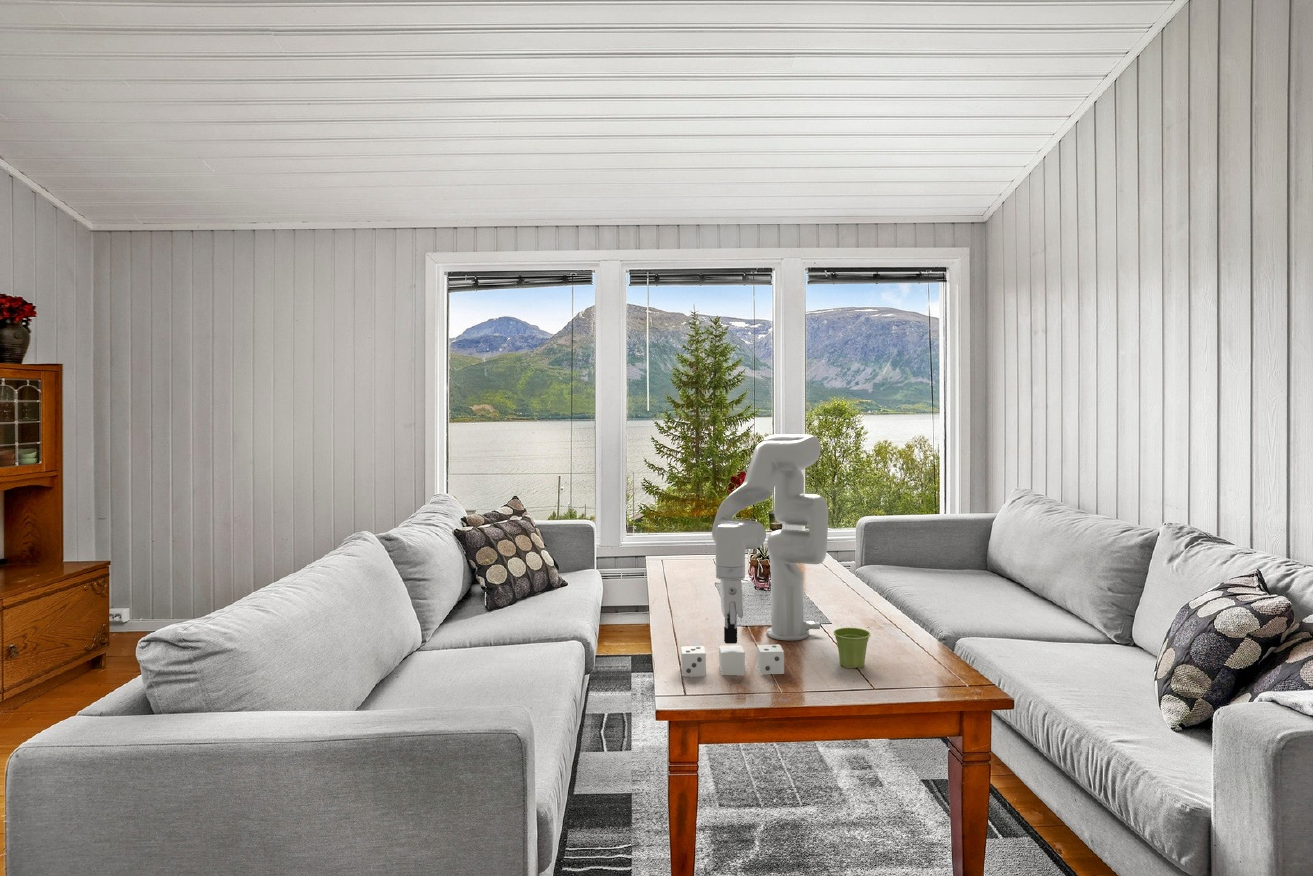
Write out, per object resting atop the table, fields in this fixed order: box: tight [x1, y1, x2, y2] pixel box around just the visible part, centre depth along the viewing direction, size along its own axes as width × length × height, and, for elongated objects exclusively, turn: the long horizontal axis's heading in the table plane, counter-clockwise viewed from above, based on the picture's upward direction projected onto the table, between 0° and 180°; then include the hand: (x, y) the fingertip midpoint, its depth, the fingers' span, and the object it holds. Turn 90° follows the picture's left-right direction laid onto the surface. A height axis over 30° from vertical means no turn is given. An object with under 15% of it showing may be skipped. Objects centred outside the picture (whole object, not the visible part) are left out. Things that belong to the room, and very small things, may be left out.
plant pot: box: [833, 627, 871, 669], centre depth 205 cm, size 9×9×9 cm
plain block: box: [718, 644, 746, 676], centre depth 202 cm, size 6×6×6 cm
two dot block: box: [756, 643, 785, 675], centre depth 202 cm, size 6×6×6 cm
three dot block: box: [680, 645, 707, 677], centre depth 201 cm, size 6×6×6 cm
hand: (730, 642), depth 201 cm, fingers closed
